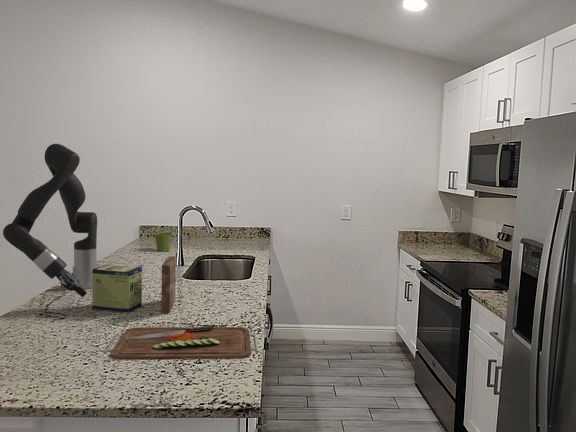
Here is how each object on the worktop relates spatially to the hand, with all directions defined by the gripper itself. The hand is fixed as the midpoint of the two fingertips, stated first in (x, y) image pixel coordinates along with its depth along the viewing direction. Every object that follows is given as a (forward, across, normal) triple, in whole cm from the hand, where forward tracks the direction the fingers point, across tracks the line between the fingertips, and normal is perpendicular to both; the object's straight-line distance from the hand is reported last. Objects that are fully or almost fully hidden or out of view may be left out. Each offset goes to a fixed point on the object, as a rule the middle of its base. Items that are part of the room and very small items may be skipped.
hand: (84, 295), depth 197 cm
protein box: (+12, -1, -5) cm, 13 cm away
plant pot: (+20, +134, -13) cm, 136 cm away
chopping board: (+30, -44, -22) cm, 58 cm away
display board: (+25, 0, -18) cm, 31 cm away
